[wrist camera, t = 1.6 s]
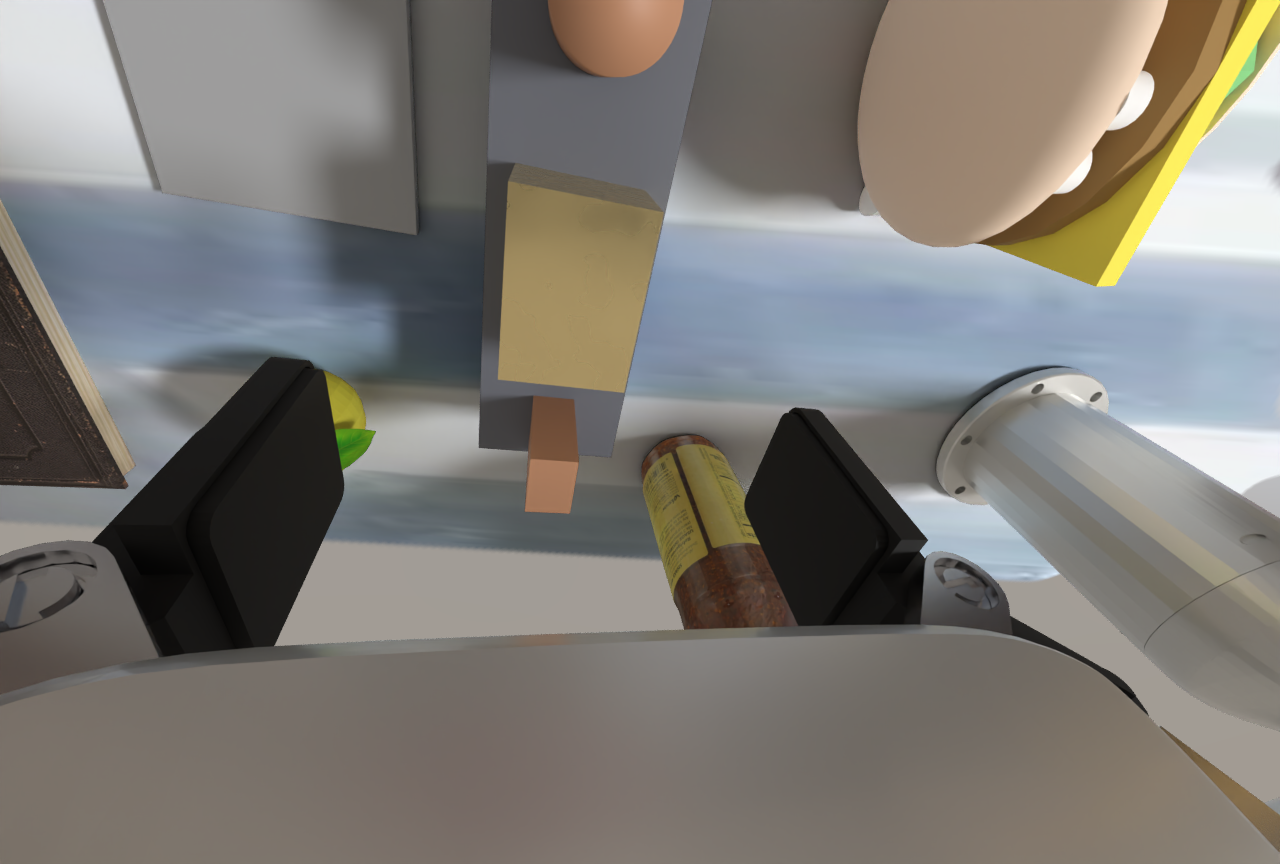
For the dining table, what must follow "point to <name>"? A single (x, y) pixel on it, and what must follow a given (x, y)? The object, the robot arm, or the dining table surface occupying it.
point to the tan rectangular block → (574, 278)
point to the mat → (278, 103)
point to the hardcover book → (48, 389)
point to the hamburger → (1048, 118)
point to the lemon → (348, 420)
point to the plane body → (582, 146)
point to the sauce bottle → (709, 539)
